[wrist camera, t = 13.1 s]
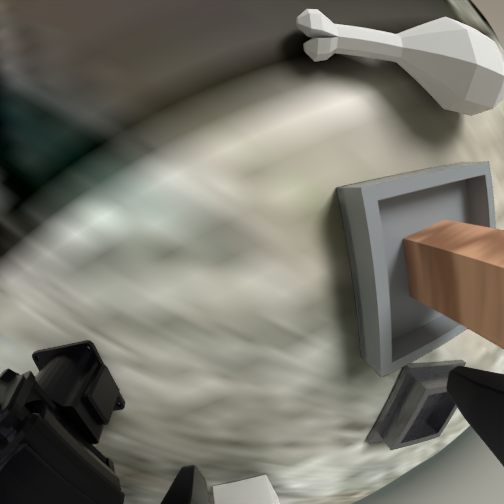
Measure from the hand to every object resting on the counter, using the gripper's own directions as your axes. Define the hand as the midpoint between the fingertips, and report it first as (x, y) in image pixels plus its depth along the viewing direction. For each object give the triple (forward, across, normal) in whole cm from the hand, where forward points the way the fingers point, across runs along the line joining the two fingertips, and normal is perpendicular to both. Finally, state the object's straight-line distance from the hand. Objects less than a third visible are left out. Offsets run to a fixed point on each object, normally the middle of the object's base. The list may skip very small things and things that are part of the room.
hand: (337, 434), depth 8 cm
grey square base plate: (+13, -14, +18) cm, 26 cm away
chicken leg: (+14, -15, -15) cm, 26 cm away
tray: (+13, -14, +1) cm, 19 cm away
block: (+12, -14, +1) cm, 18 cm away
